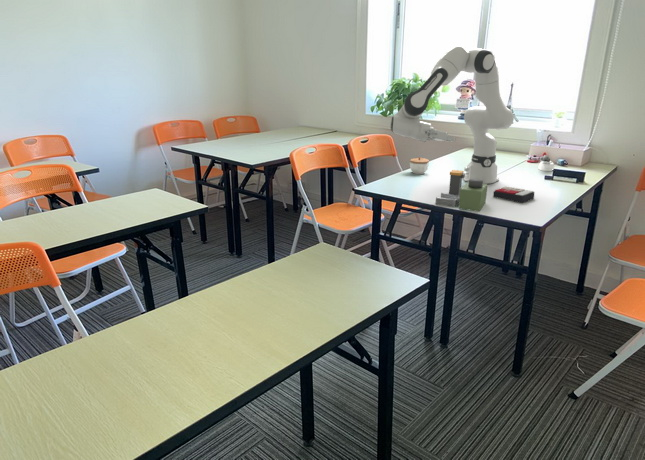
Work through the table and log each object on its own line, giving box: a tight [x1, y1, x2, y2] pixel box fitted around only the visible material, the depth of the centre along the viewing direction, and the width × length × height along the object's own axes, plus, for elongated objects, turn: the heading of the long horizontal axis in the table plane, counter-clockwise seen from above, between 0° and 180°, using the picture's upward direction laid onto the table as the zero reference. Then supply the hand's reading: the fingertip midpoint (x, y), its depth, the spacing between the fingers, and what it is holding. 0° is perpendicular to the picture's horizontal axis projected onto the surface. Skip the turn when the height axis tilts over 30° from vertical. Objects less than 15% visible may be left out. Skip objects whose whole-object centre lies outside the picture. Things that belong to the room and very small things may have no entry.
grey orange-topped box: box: [448, 169, 466, 195], centre depth 226 cm, size 6×5×12 cm
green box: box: [458, 179, 488, 212], centre depth 212 cm, size 9×13×12 cm
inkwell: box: [537, 154, 555, 172], centre depth 272 cm, size 9×18×10 cm, turn 149°
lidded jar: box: [409, 156, 430, 175], centre depth 272 cm, size 11×11×9 cm
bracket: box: [435, 192, 460, 207], centre depth 218 cm, size 9×9×3 cm
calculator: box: [492, 186, 535, 204], centre depth 225 cm, size 11×4×15 cm
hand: (453, 139), depth 218 cm, fingers open, 8 cm apart
